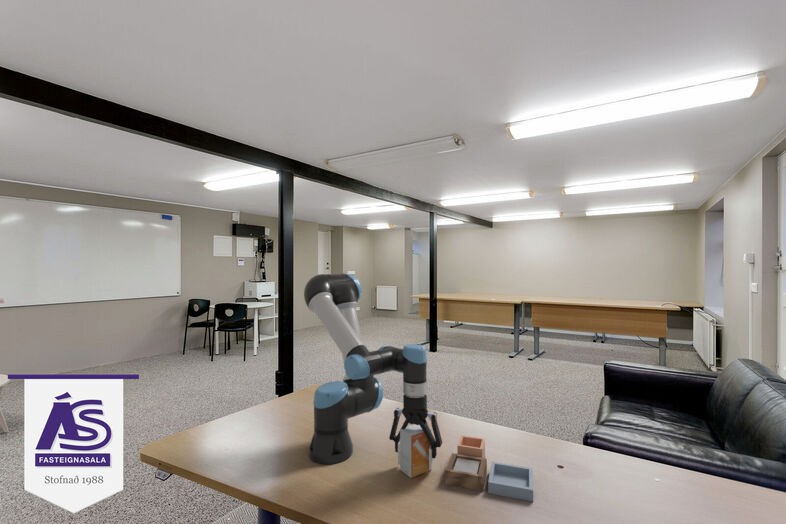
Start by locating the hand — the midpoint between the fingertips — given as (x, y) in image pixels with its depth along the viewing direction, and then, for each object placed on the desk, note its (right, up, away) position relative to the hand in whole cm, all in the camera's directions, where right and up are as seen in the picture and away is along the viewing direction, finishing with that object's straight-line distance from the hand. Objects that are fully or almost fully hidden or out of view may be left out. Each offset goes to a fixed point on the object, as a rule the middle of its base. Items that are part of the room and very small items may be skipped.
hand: (415, 464), depth 118 cm
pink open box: (+19, -2, +6) cm, 20 cm away
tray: (+28, -1, -9) cm, 29 cm away
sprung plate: (+15, +1, -4) cm, 16 cm away
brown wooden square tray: (+15, -1, -4) cm, 16 cm away
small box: (0, -2, 0) cm, 2 cm away
